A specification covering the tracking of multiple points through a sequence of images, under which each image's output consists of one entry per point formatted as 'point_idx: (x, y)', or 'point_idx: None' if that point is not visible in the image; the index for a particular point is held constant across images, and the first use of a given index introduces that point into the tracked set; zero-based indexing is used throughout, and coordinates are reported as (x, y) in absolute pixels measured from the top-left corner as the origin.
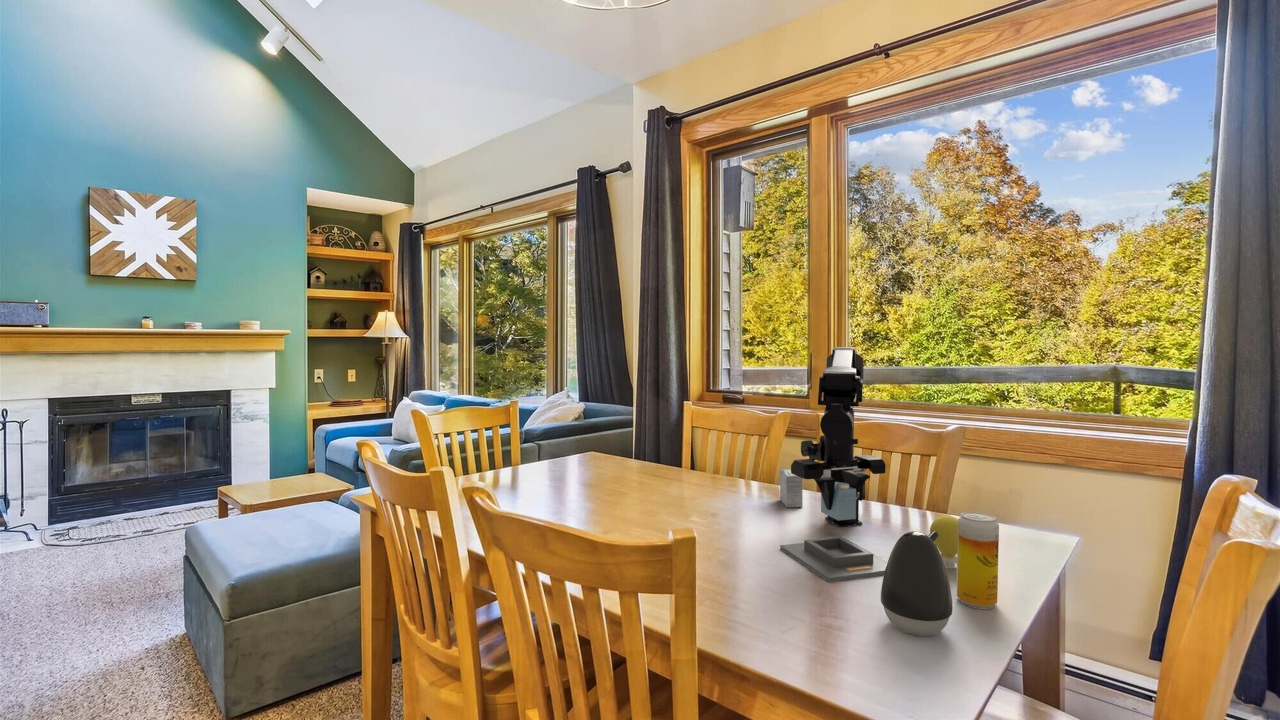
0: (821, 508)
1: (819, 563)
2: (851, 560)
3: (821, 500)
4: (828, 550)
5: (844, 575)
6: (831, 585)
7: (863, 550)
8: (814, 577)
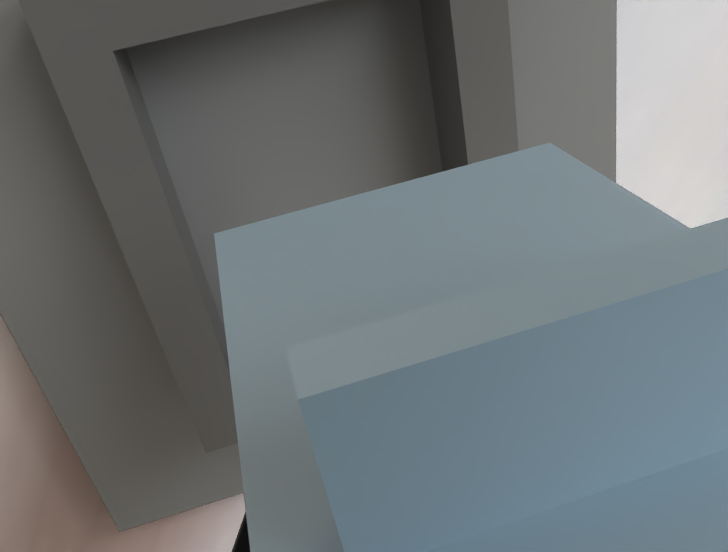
0: (221, 275)
1: (114, 327)
2: None
3: (230, 373)
4: (285, 39)
5: (232, 491)
6: (126, 543)
7: None
8: (40, 460)
